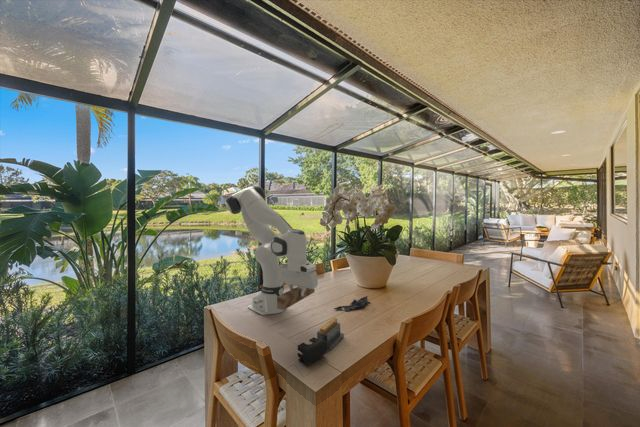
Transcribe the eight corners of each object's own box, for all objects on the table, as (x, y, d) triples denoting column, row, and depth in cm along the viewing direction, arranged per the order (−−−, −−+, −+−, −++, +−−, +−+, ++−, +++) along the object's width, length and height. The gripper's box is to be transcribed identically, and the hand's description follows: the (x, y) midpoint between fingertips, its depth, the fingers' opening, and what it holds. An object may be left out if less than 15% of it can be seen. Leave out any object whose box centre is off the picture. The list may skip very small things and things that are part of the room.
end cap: (309, 369, 95) (308, 351, 95) (296, 361, 100) (296, 344, 100) (327, 358, 102) (327, 341, 102) (315, 350, 107) (315, 334, 107)
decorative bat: (345, 309, 138) (332, 305, 146) (345, 316, 138) (332, 312, 146) (379, 295, 157) (366, 292, 165) (379, 302, 157) (366, 299, 165)
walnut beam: (283, 310, 108) (283, 298, 107) (277, 308, 110) (277, 296, 109) (314, 292, 128) (314, 282, 128) (308, 290, 130) (308, 281, 130)
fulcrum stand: (313, 345, 111) (313, 327, 111) (328, 332, 122) (328, 315, 122) (329, 350, 107) (329, 332, 106) (343, 336, 118) (343, 319, 117)
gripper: (275, 263, 121) (275, 292, 121) (311, 269, 110) (311, 301, 111) (283, 260, 126) (283, 288, 127) (319, 266, 116) (319, 296, 116)
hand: (297, 294), depth 119 cm, fingers closed on walnut beam, 3 cm apart
